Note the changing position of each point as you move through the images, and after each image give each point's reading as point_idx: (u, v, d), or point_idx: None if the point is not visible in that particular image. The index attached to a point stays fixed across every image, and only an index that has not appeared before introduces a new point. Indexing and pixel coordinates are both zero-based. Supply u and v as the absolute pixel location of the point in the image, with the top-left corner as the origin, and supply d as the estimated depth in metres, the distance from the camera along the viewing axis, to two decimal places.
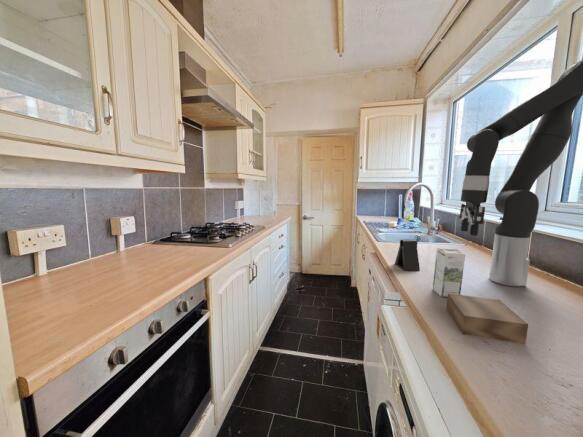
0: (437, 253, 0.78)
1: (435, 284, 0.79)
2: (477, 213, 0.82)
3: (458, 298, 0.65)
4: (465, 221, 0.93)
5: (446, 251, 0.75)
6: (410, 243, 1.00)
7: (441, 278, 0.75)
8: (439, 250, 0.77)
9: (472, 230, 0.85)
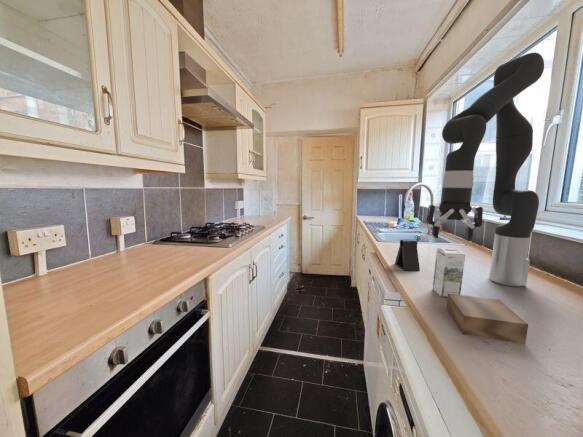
0: (437, 253, 0.78)
1: (435, 284, 0.79)
2: None
3: (458, 298, 0.65)
4: (437, 225, 0.76)
5: (446, 251, 0.75)
6: (410, 243, 1.00)
7: (441, 278, 0.75)
8: (439, 250, 0.77)
9: (471, 234, 0.73)
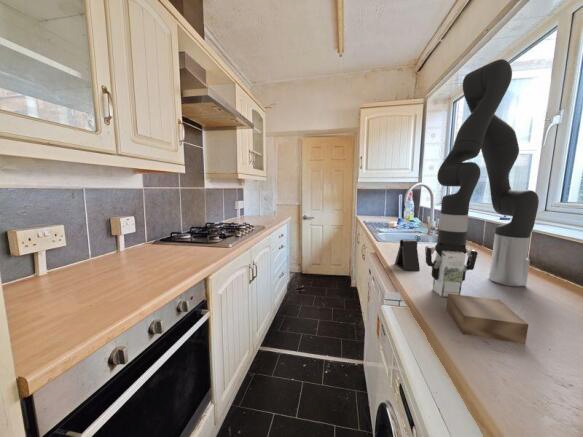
0: (437, 253, 0.78)
1: (435, 283, 0.79)
2: None
3: (458, 298, 0.65)
4: None
5: None
6: (410, 243, 1.00)
7: (441, 278, 0.75)
8: None
9: (463, 277, 0.75)
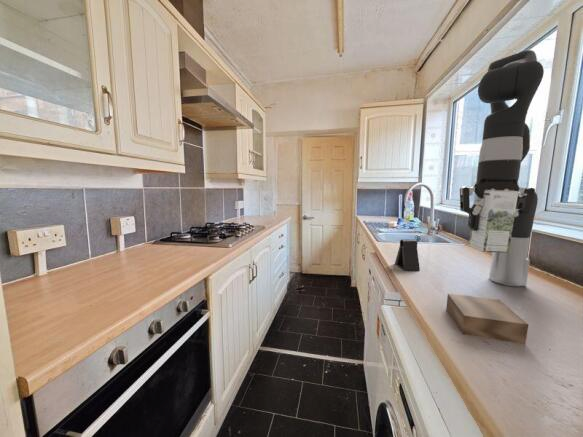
0: (476, 196, 0.59)
1: (473, 237, 0.60)
2: None
3: (458, 298, 0.65)
4: None
5: (491, 190, 0.56)
6: (410, 243, 1.00)
7: (484, 226, 0.56)
8: None
9: (513, 225, 0.56)
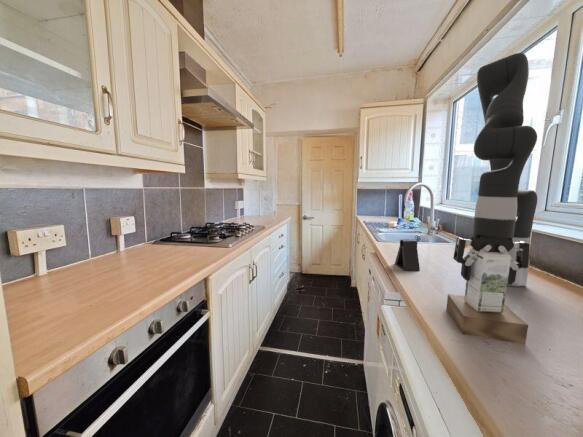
0: None
1: (468, 294, 0.61)
2: None
3: (458, 298, 0.65)
4: None
5: (484, 252, 0.57)
6: (410, 243, 1.00)
7: (478, 287, 0.58)
8: (474, 251, 0.59)
9: (513, 277, 0.57)
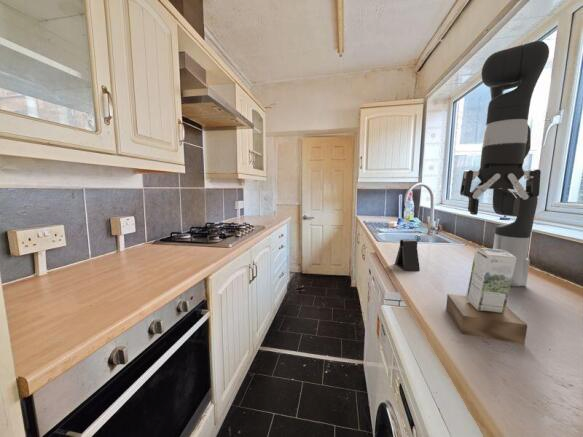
0: (476, 254, 0.60)
1: (470, 292, 0.61)
2: None
3: (458, 298, 0.65)
4: None
5: (489, 252, 0.57)
6: (410, 243, 1.00)
7: (480, 286, 0.58)
8: (479, 250, 0.59)
9: (523, 208, 0.55)
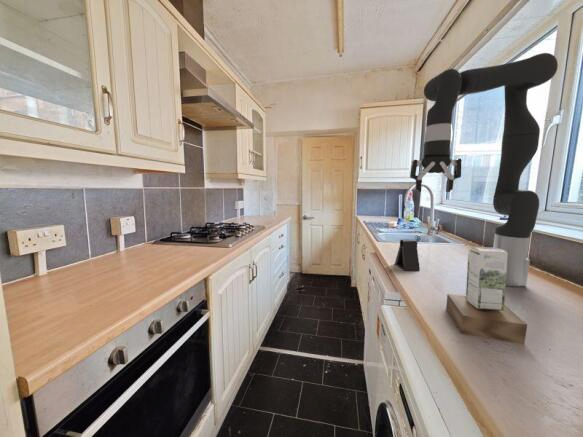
0: (469, 253, 0.62)
1: (469, 292, 0.62)
2: None
3: (458, 298, 0.65)
4: None
5: (481, 249, 0.59)
6: (410, 243, 1.00)
7: (477, 284, 0.59)
8: (472, 249, 0.61)
9: (451, 186, 0.77)
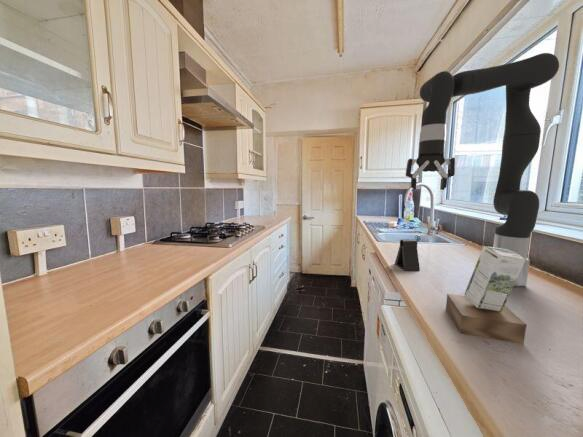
0: (483, 252, 0.59)
1: (471, 290, 0.61)
2: None
3: (458, 298, 0.65)
4: None
5: (499, 252, 0.55)
6: (410, 243, 1.00)
7: (484, 285, 0.57)
8: (488, 249, 0.58)
9: (445, 184, 0.80)
